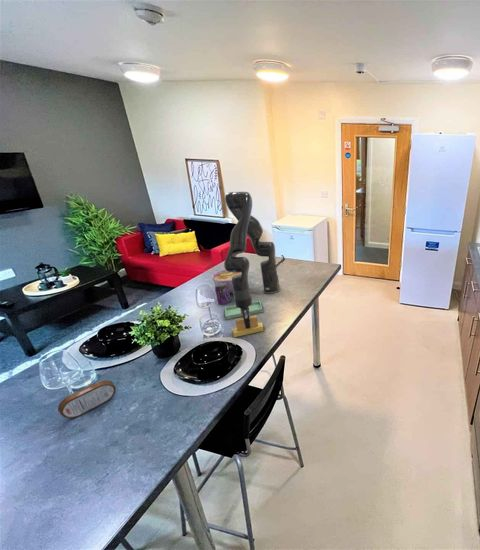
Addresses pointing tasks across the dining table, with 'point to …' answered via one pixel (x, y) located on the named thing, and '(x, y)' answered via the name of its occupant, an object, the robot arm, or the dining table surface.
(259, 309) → the tray
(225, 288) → the beverage can
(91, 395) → the tin
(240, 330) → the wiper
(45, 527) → the dining table surface
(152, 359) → the dining table surface
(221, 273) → the bowl of food
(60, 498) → the dining table surface
